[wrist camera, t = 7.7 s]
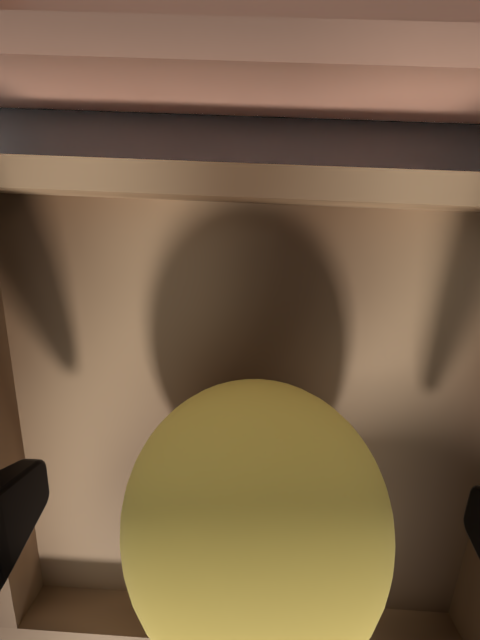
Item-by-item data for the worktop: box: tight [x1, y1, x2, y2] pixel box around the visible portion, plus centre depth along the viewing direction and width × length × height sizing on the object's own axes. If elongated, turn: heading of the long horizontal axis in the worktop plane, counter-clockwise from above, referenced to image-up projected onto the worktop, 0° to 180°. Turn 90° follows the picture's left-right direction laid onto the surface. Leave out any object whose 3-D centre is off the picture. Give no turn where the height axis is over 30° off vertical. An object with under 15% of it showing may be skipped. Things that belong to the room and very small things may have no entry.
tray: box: [0, 154, 480, 640], centre depth 9 cm, size 14×13×2 cm
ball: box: [120, 379, 396, 640], centre depth 6 cm, size 5×5×5 cm
